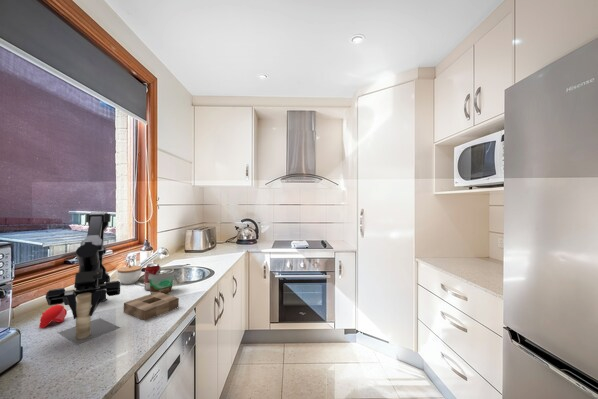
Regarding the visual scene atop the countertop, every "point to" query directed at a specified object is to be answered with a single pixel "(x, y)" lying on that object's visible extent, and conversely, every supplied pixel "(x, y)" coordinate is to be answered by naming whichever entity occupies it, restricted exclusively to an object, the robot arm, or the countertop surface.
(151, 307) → the hole block
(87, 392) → the countertop surface
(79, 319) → the peg
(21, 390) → the countertop surface
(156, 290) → the food container
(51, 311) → the cap
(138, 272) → the lidded jar
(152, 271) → the soda can
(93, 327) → the mat
